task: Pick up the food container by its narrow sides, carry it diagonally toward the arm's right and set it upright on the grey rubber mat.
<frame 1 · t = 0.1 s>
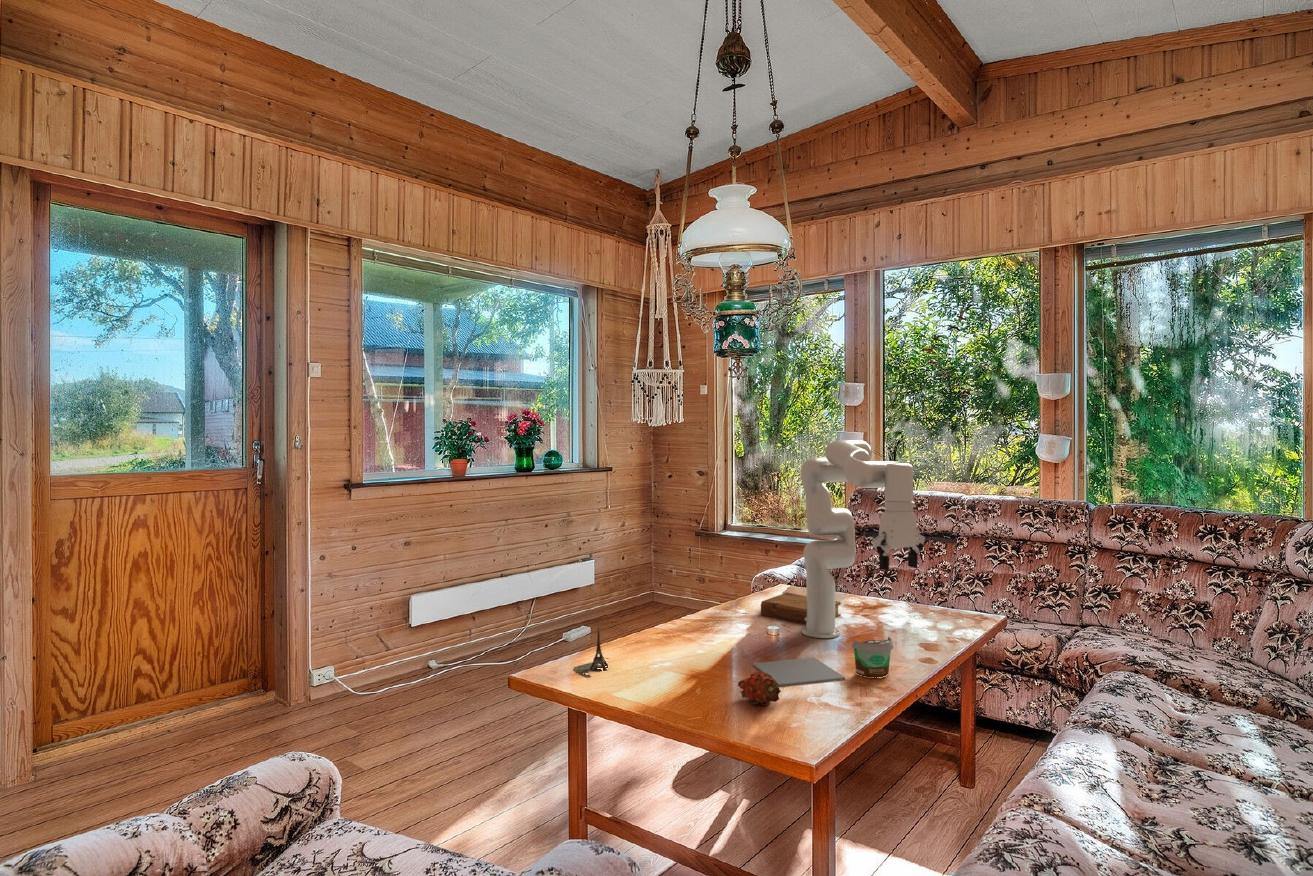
hand: (898, 568, 205), 31 cm above the table, tool pointing down, fingers open, 9 cm apart
brown flat wooden box: (800, 617, 273), on the table
eiffel tower figurine: (598, 670, 215), on the table
dragon fruit: (758, 703, 188), on the table
mat: (797, 672, 211), on the table
food container: (876, 677, 208), on the table
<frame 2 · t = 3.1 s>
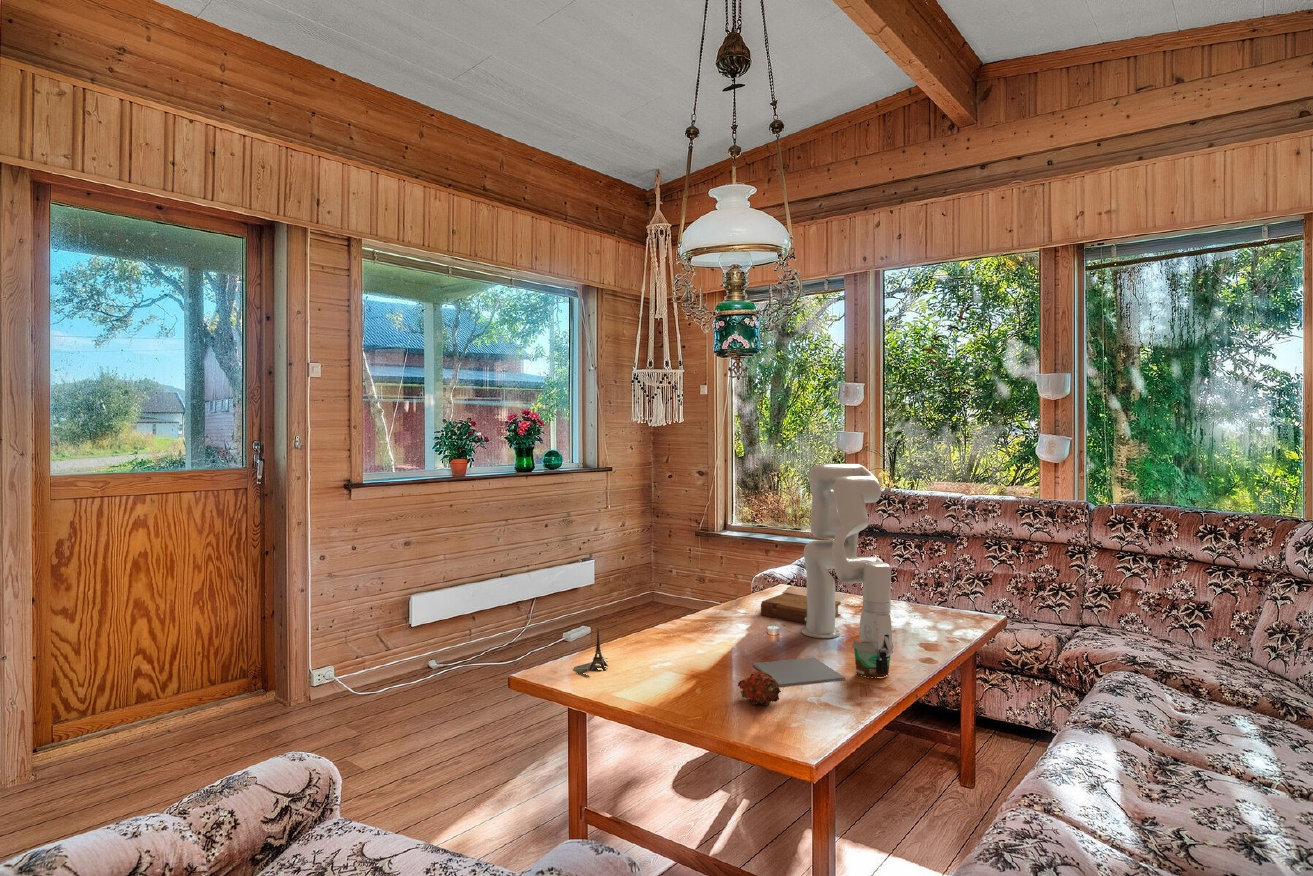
hand: (875, 669, 208), 2 cm above the table, tool pointing down, fingers closed on food container, 5 cm apart
food container: (876, 677, 208), on the table, touching gripper
everything else where it was.
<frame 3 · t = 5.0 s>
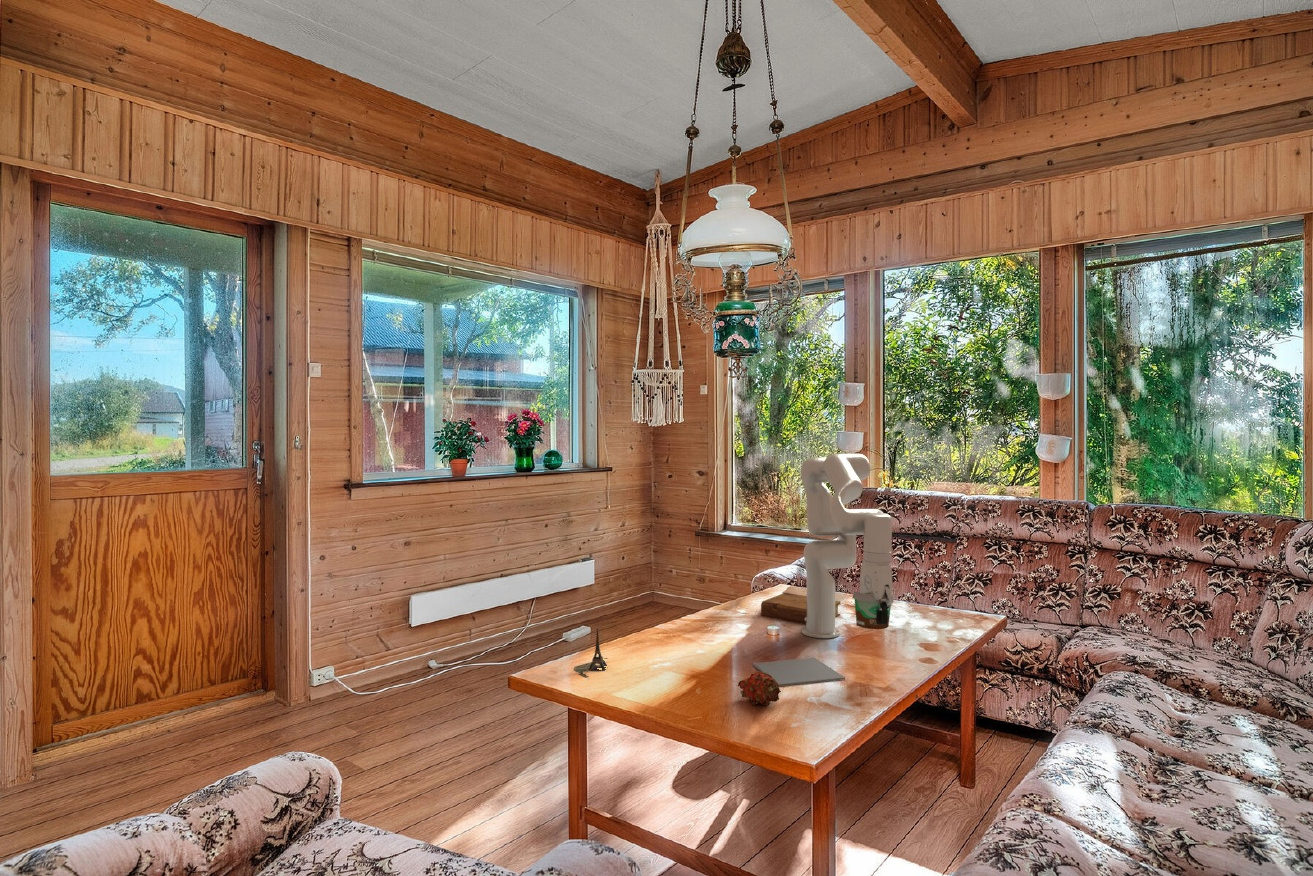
hand: (876, 620, 208), 16 cm above the table, tool pointing down, fingers closed on food container, 5 cm apart
food container: (877, 628, 207), point 14 cm above the table, touching gripper
everything else where it was.
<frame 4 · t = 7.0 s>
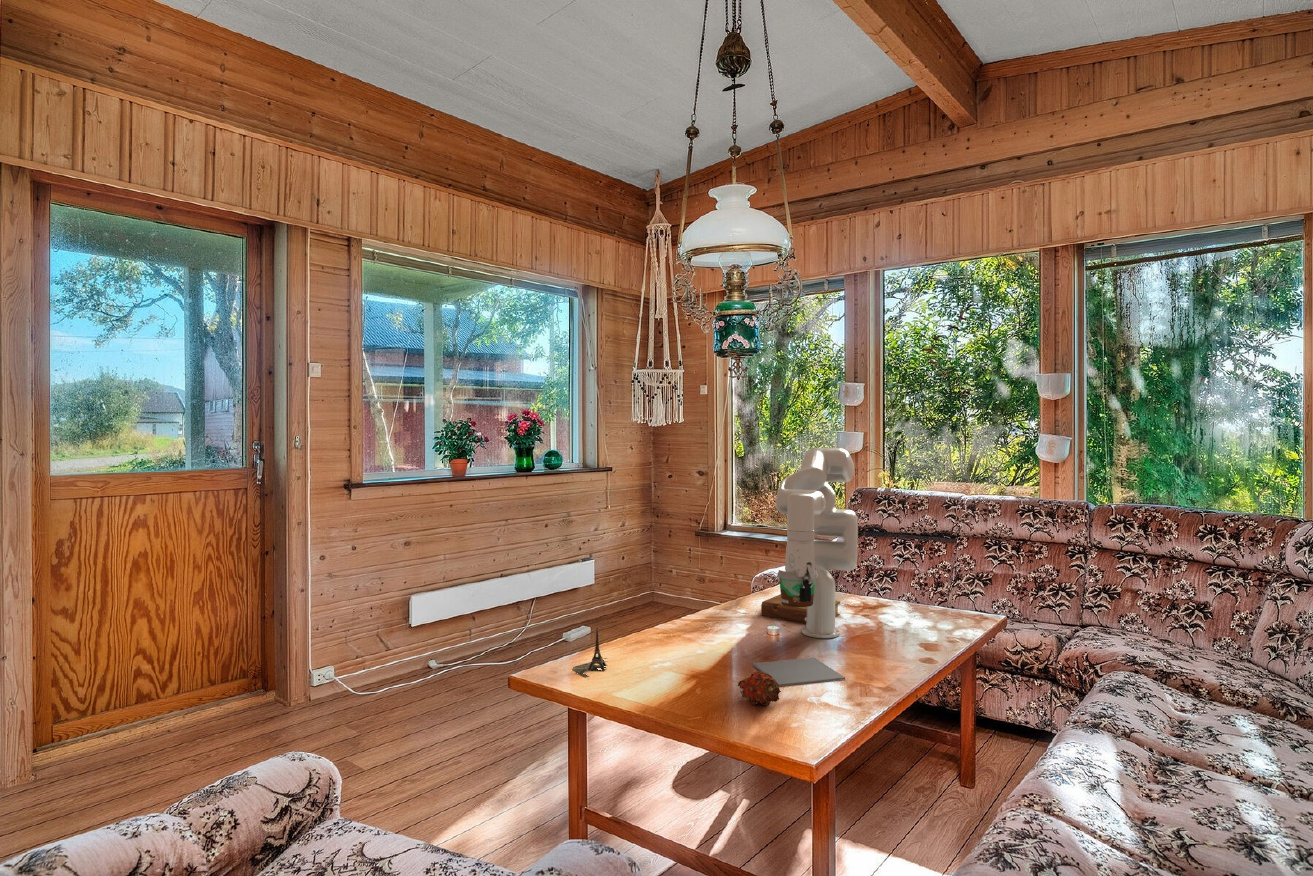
hand: (800, 598, 210), 21 cm above the table, tool pointing down, fingers closed on food container, 5 cm apart
food container: (801, 606, 210), point 19 cm above the table, touching gripper
everything else where it was.
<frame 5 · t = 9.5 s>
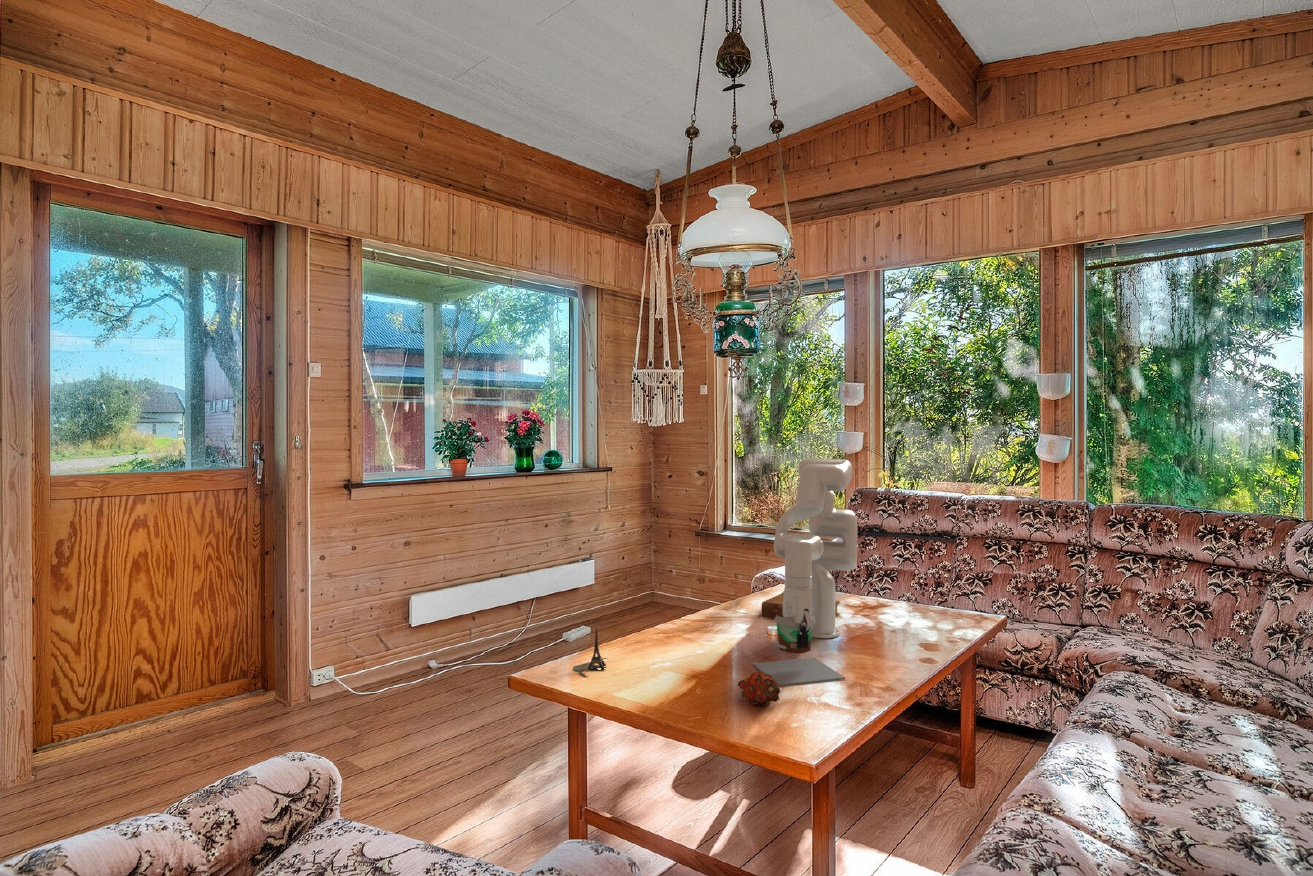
hand: (797, 644, 211), 8 cm above the table, tool pointing down, fingers closed on food container, 5 cm apart
food container: (798, 651, 210), point 6 cm above the table, touching gripper
everything else where it was.
when the fingers open (4 cm above the table, at t = 10.9 s): food container drops 1 cm, resting on mat.
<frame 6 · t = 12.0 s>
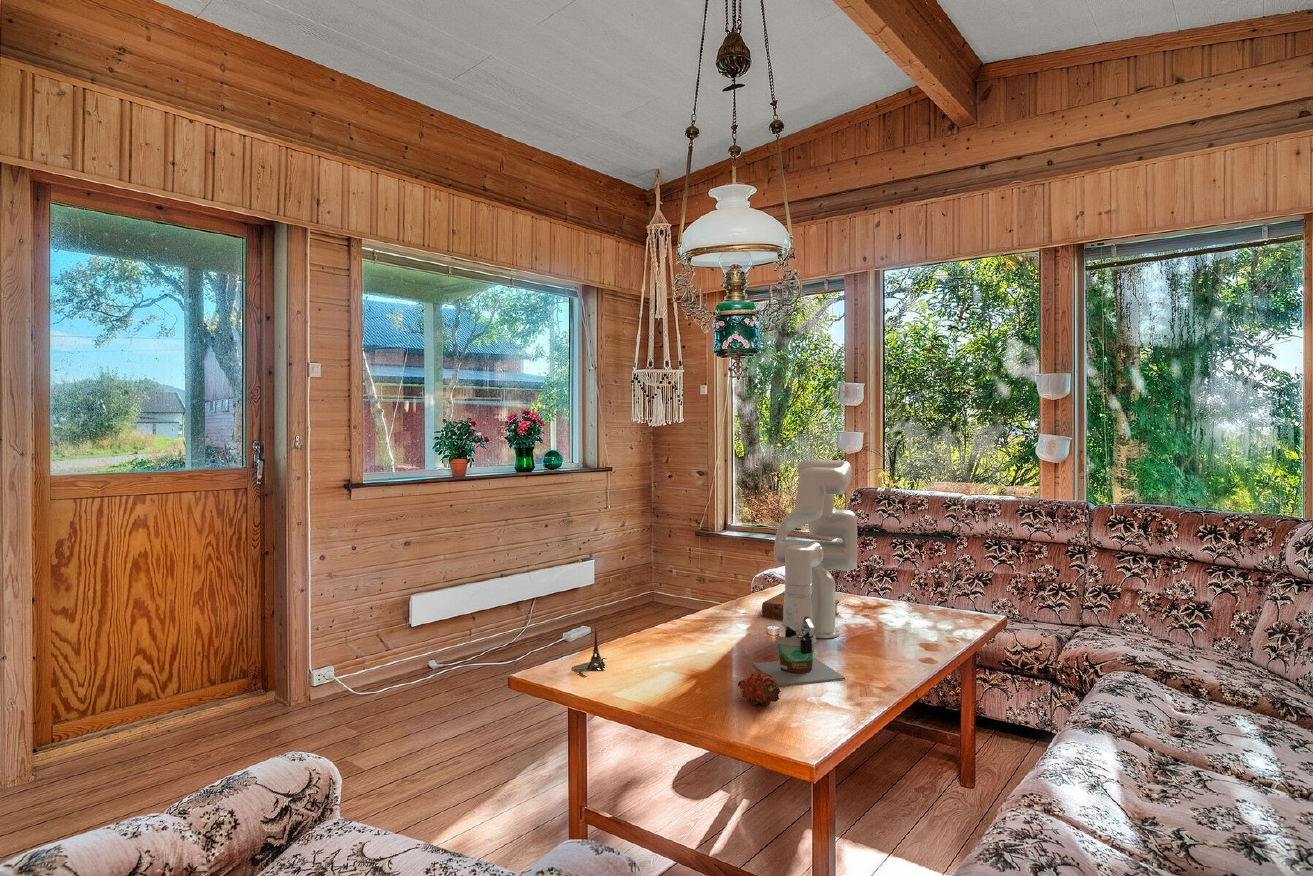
hand: (798, 647, 211), 7 cm above the table, tool pointing down, fingers open, 9 cm apart
food container: (800, 671, 210), point 1 cm above the table, touching mat
everything else where it was.
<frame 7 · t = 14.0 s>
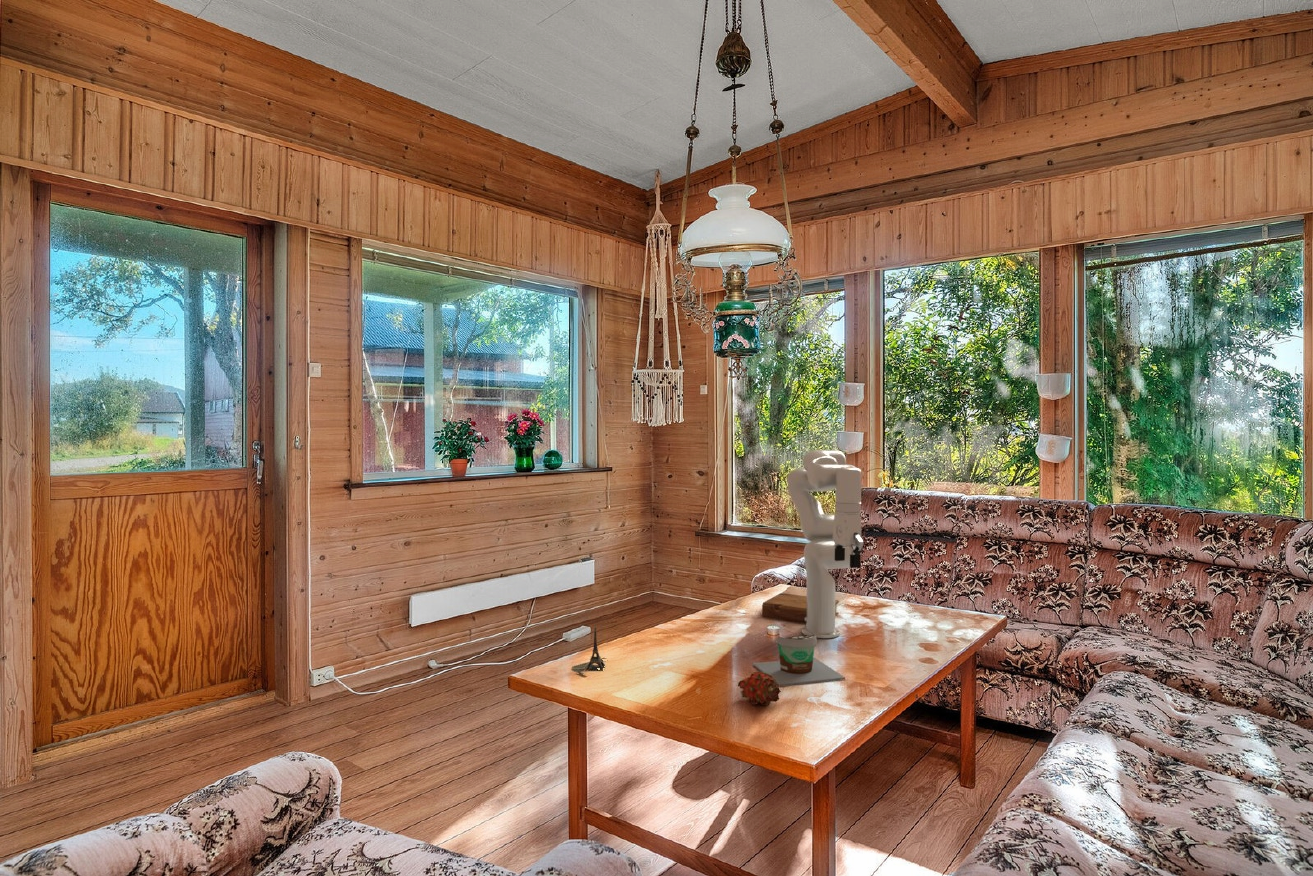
hand: (847, 564, 223), 29 cm above the table, tool pointing down, fingers open, 9 cm apart
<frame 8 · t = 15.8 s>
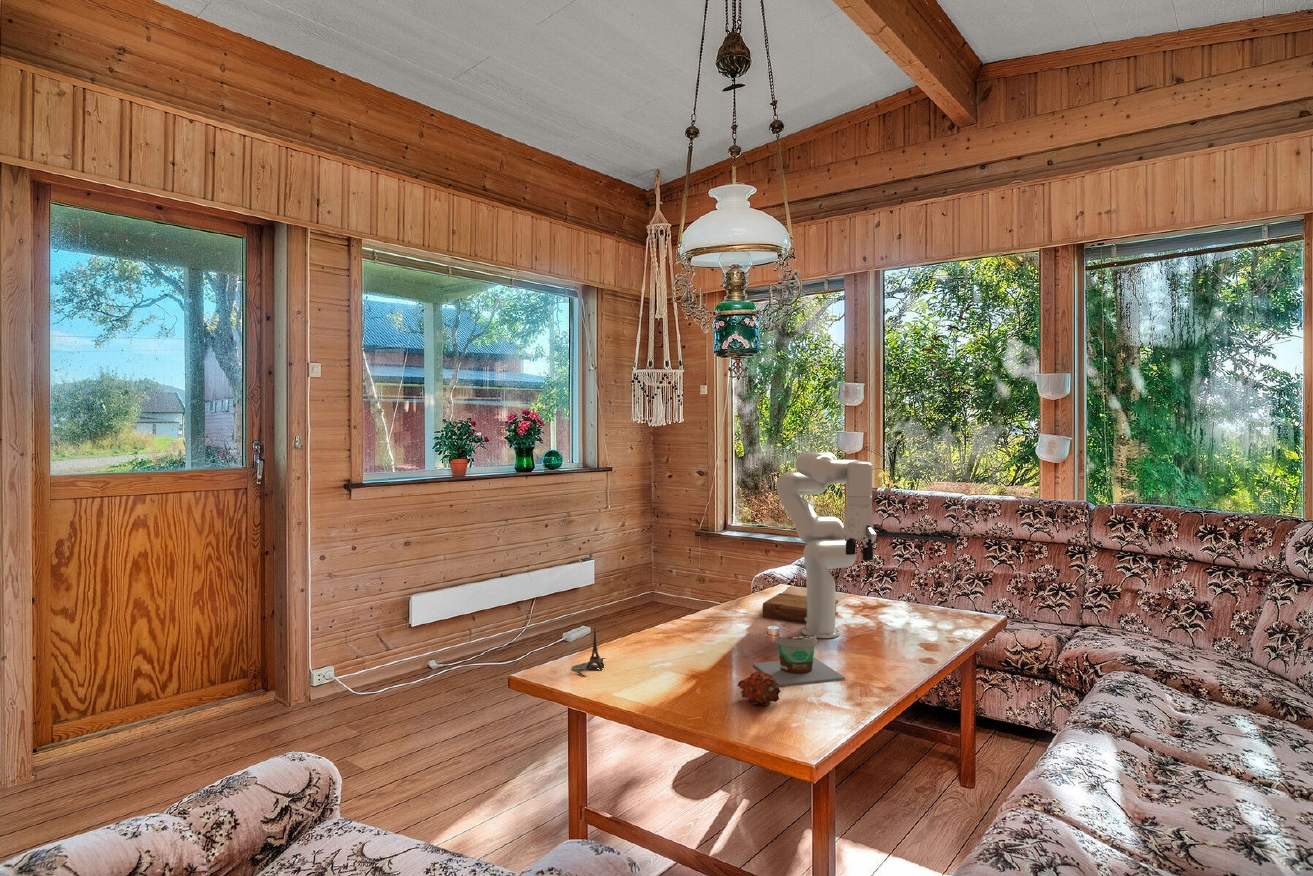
hand: (859, 557, 226), 30 cm above the table, tool pointing down, fingers open, 9 cm apart
at the end: food container inside the target area on the mat (1.3 cm from its centre), point 0.4 cm above the mat's base; food container tilted 0°; the gripper is holding nothing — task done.
